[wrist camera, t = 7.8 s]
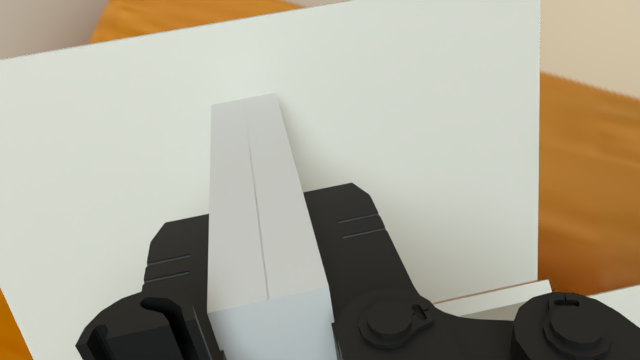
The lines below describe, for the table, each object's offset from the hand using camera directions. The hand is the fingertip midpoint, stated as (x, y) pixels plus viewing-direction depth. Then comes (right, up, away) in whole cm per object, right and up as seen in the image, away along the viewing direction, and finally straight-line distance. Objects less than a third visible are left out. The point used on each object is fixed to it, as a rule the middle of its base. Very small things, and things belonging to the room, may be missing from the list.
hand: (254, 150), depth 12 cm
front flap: (+1, -5, +3) cm, 6 cm away
